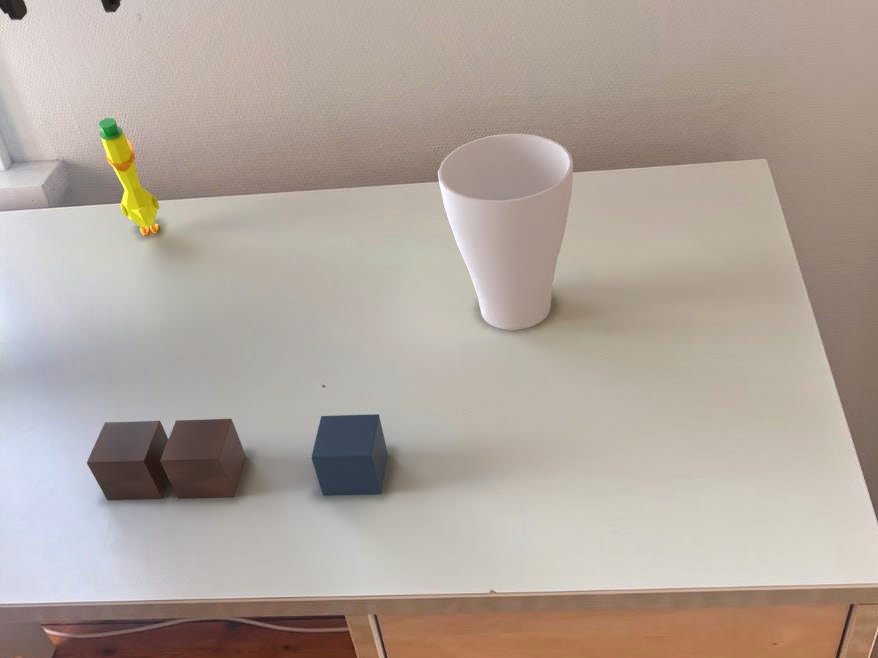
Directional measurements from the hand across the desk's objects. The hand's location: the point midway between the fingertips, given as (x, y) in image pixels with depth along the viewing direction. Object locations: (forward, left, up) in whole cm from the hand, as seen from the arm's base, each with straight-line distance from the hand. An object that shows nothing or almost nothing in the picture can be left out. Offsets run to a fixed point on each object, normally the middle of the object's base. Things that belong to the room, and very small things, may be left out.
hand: (66, 13), depth 83 cm
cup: (+38, -16, -21) cm, 46 cm away
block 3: (+26, -36, -21) cm, 49 cm away
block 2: (+15, -36, -21) cm, 44 cm away
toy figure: (0, 0, -21) cm, 21 cm away
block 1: (+10, -36, -21) cm, 43 cm away
